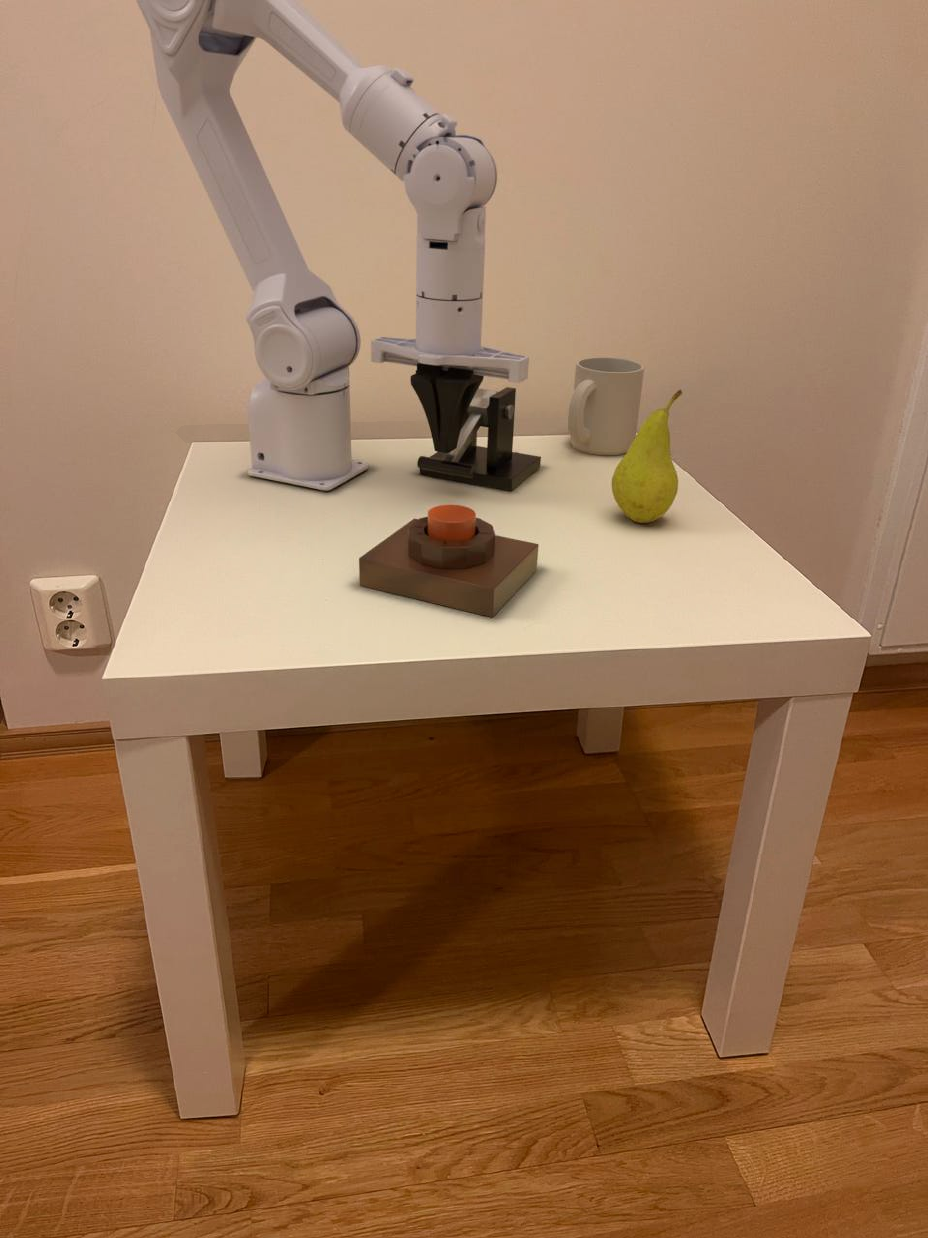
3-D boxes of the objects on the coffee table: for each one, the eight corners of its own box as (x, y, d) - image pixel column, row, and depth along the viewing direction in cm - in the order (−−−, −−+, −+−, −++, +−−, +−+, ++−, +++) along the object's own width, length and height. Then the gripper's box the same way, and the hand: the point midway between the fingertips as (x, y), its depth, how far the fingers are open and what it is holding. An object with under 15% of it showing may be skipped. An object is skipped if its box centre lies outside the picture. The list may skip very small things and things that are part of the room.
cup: (646, 446, 101) (657, 365, 97) (596, 466, 95) (604, 380, 90) (593, 432, 106) (600, 354, 101) (541, 450, 99) (546, 368, 95)
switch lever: (472, 485, 84) (468, 465, 82) (419, 475, 86) (415, 456, 84) (515, 412, 90) (513, 392, 88) (465, 405, 92) (461, 385, 90)
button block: (359, 585, 69) (357, 536, 67) (414, 543, 76) (414, 498, 74) (492, 618, 65) (495, 567, 63) (537, 570, 72) (540, 523, 70)
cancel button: (419, 538, 68) (419, 516, 67) (440, 522, 71) (440, 501, 70) (462, 547, 67) (463, 525, 66) (482, 530, 69) (483, 509, 69)
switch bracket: (511, 491, 88) (516, 406, 84) (419, 474, 91) (419, 391, 87) (540, 467, 94) (546, 387, 90) (453, 452, 98) (455, 374, 94)
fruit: (598, 509, 84) (612, 379, 78) (657, 506, 85) (675, 377, 79) (621, 534, 79) (638, 396, 73) (683, 529, 80) (704, 394, 75)
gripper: (351, 293, 77) (355, 448, 83) (510, 311, 72) (501, 475, 78) (392, 282, 82) (392, 428, 89) (541, 299, 77) (530, 452, 84)
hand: (445, 449), depth 84 cm, fingers closed
